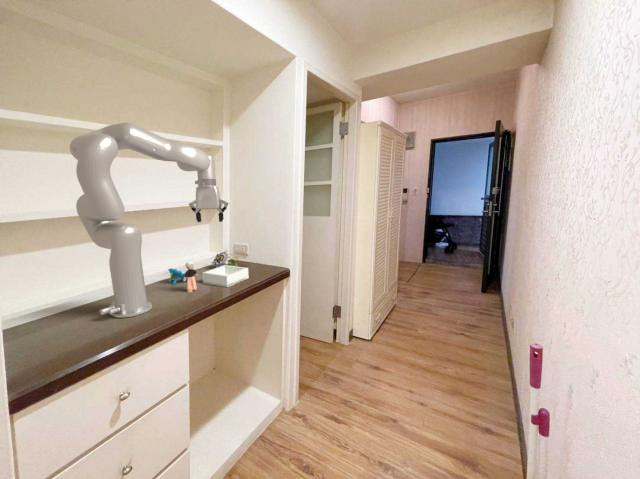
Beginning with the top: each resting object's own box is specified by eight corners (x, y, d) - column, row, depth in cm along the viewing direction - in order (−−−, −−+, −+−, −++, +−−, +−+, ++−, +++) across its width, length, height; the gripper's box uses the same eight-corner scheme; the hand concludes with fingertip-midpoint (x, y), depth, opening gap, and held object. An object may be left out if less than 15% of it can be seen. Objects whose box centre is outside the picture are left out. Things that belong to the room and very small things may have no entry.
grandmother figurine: (191, 293, 124) (188, 263, 122) (182, 293, 125) (179, 263, 122) (201, 287, 132) (199, 259, 129) (193, 287, 132) (190, 259, 130)
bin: (227, 287, 131) (226, 276, 130) (203, 283, 137) (202, 272, 136) (248, 278, 144) (248, 267, 143) (225, 274, 150) (224, 265, 149)
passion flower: (220, 280, 159) (205, 262, 158) (232, 271, 169) (219, 254, 168) (232, 270, 154) (217, 252, 153) (244, 261, 163) (230, 244, 162)
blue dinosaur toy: (194, 278, 140) (177, 266, 133) (188, 289, 137) (170, 278, 130) (181, 277, 146) (164, 266, 140) (175, 288, 143) (157, 277, 137)
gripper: (184, 183, 131) (187, 223, 133) (224, 183, 131) (227, 222, 134) (190, 183, 138) (193, 221, 141) (229, 183, 139) (231, 220, 142)
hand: (210, 221), depth 138 cm, fingers open, 9 cm apart
